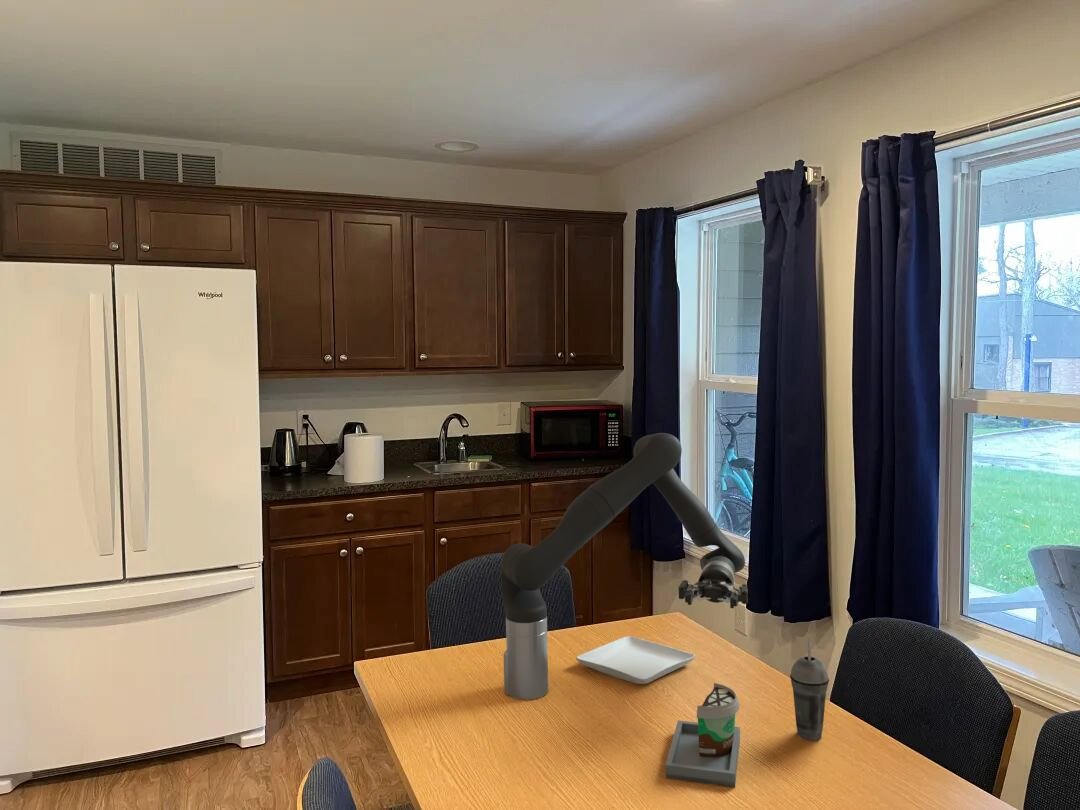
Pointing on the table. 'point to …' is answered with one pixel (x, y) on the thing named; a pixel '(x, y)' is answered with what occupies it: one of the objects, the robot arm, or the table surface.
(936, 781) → the table surface
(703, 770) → the tray
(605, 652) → the salad plate
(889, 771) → the table surface
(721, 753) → the food container
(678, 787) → the table surface
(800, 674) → the beverage cup
